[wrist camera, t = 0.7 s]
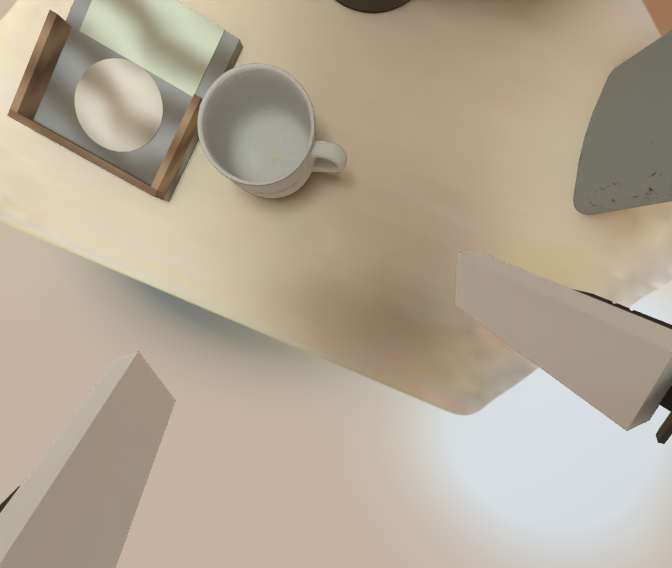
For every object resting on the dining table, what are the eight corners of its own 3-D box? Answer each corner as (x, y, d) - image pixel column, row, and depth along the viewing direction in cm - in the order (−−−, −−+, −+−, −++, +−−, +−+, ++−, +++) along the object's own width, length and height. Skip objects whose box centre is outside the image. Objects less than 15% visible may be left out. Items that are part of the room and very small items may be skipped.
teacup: (216, 177, 31) (175, 149, 23) (255, 93, 30) (226, 33, 22) (318, 231, 31) (312, 223, 23) (359, 151, 30) (367, 113, 22)
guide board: (102, -38, 28) (80, -66, 26) (242, 46, 29) (234, 27, 27) (34, 127, 30) (7, 115, 27) (168, 201, 31) (154, 196, 28)
